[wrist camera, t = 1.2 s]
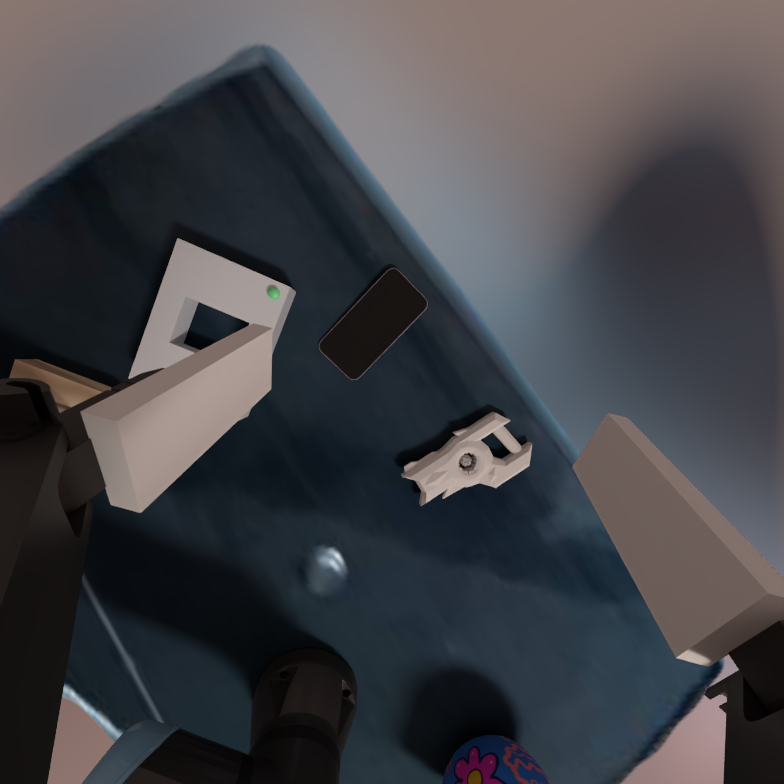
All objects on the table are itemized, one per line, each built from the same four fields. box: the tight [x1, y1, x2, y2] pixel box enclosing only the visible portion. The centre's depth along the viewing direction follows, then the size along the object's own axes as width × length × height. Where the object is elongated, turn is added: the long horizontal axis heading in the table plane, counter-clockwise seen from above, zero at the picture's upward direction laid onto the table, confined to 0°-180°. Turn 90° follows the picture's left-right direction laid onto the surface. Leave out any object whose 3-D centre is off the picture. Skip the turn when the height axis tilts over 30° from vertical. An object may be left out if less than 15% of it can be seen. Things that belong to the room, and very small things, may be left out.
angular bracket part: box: [401, 412, 532, 506], centre depth 45 cm, size 18×3×10 cm
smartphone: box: [319, 268, 428, 380], centre depth 43 cm, size 7×1×15 cm
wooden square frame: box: [9, 359, 112, 407], centre depth 40 cm, size 12×12×2 cm
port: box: [129, 238, 296, 420], centre depth 40 cm, size 18×14×3 cm
